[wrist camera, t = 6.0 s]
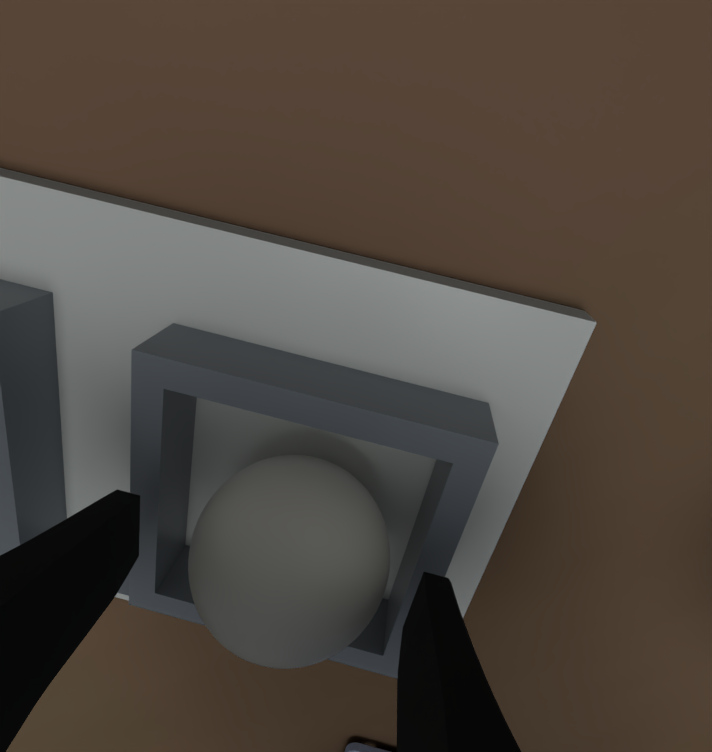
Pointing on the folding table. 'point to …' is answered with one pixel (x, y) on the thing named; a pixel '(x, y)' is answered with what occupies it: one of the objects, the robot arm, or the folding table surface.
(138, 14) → the folding table surface
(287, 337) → the ball sorting tray
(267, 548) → the ivory ball
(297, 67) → the folding table surface
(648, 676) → the folding table surface
